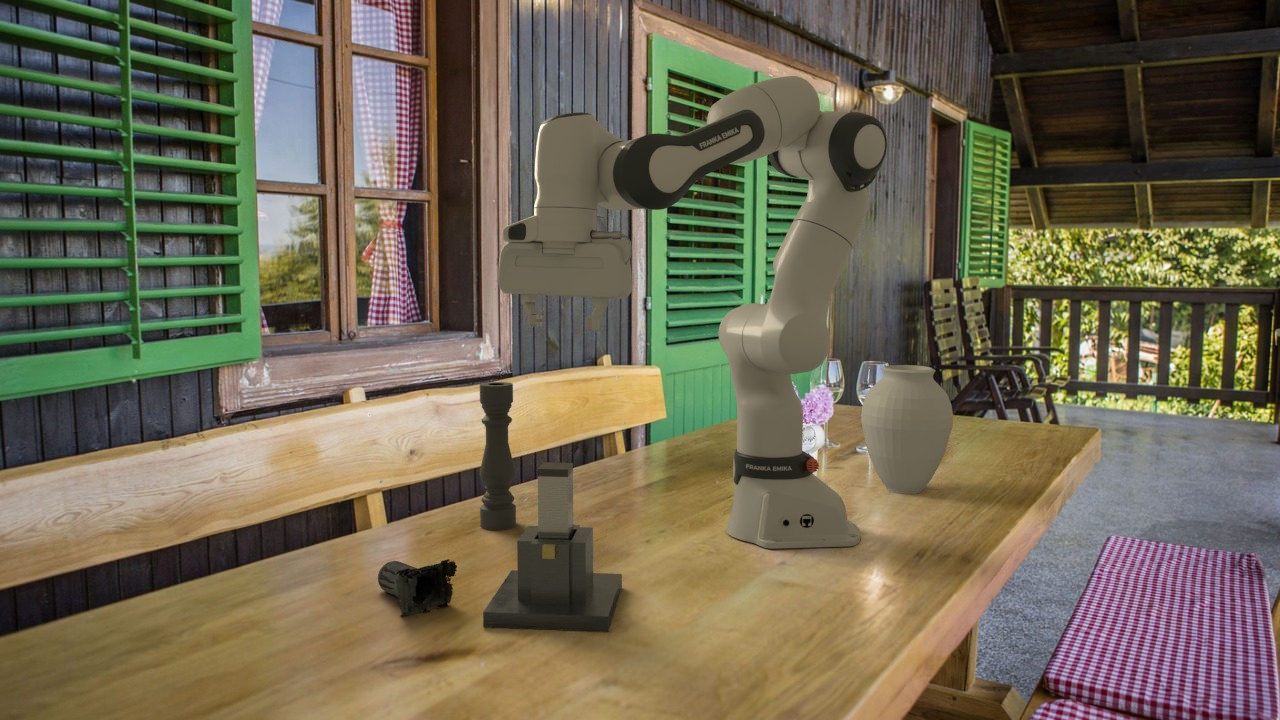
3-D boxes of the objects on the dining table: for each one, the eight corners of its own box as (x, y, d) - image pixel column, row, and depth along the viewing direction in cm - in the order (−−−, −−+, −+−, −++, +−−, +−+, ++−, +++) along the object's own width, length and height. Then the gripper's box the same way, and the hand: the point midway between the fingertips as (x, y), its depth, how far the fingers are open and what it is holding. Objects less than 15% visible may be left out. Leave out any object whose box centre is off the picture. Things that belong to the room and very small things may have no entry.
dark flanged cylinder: (453, 616, 127) (409, 597, 136) (459, 559, 127) (415, 544, 136) (392, 621, 121) (350, 600, 129) (399, 561, 121) (357, 544, 130)
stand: (621, 587, 134) (621, 519, 133) (608, 631, 118) (608, 554, 117) (511, 583, 135) (510, 516, 134) (483, 627, 119) (482, 550, 118)
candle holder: (509, 531, 161) (507, 387, 158) (475, 529, 162) (472, 386, 160) (520, 521, 167) (519, 382, 164) (487, 519, 168) (485, 381, 166)
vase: (852, 495, 186) (856, 370, 183) (866, 476, 202) (869, 361, 199) (946, 504, 179) (951, 374, 176) (953, 484, 195) (957, 365, 193)
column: (574, 584, 128) (574, 462, 126) (569, 596, 124) (568, 469, 122) (543, 583, 129) (542, 462, 127) (537, 594, 124) (536, 469, 122)
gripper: (641, 232, 130) (638, 331, 131) (517, 230, 139) (515, 323, 140) (620, 229, 124) (618, 333, 126) (492, 228, 133) (491, 325, 135)
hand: (563, 328), depth 133 cm, fingers open, 8 cm apart
